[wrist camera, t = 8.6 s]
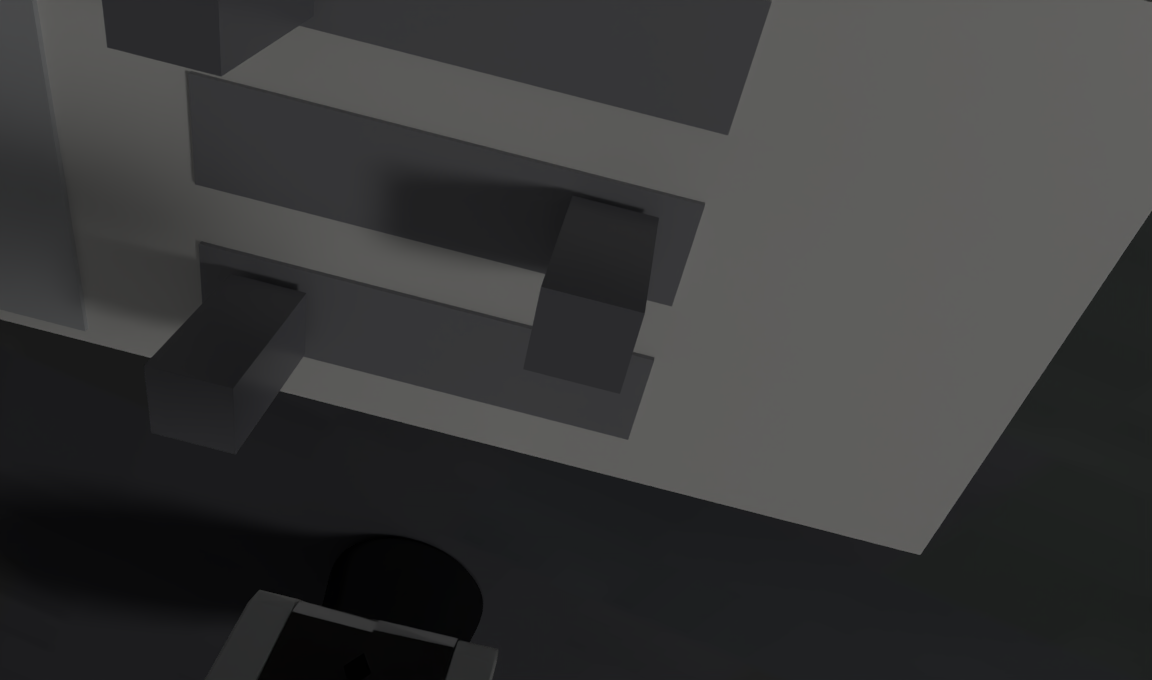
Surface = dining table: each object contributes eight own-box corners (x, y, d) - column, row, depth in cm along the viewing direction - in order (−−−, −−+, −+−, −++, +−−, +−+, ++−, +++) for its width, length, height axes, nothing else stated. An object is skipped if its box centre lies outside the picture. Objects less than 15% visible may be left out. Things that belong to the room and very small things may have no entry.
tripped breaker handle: (555, 270, 21) (522, 369, 17) (572, 195, 19) (541, 286, 16) (637, 291, 21) (620, 394, 17) (658, 217, 19) (645, 313, 16)
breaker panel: (-22, 244, 27) (-239, 390, 21) (-162, -354, 18) (-602, -402, 12) (902, 482, 27) (953, 696, 21) (1198, -6, 18) (1432, 118, 12)
